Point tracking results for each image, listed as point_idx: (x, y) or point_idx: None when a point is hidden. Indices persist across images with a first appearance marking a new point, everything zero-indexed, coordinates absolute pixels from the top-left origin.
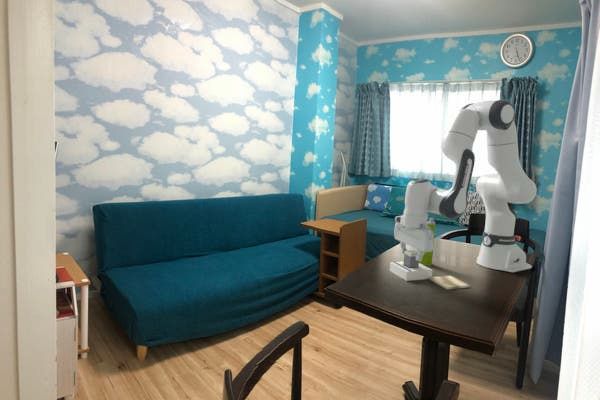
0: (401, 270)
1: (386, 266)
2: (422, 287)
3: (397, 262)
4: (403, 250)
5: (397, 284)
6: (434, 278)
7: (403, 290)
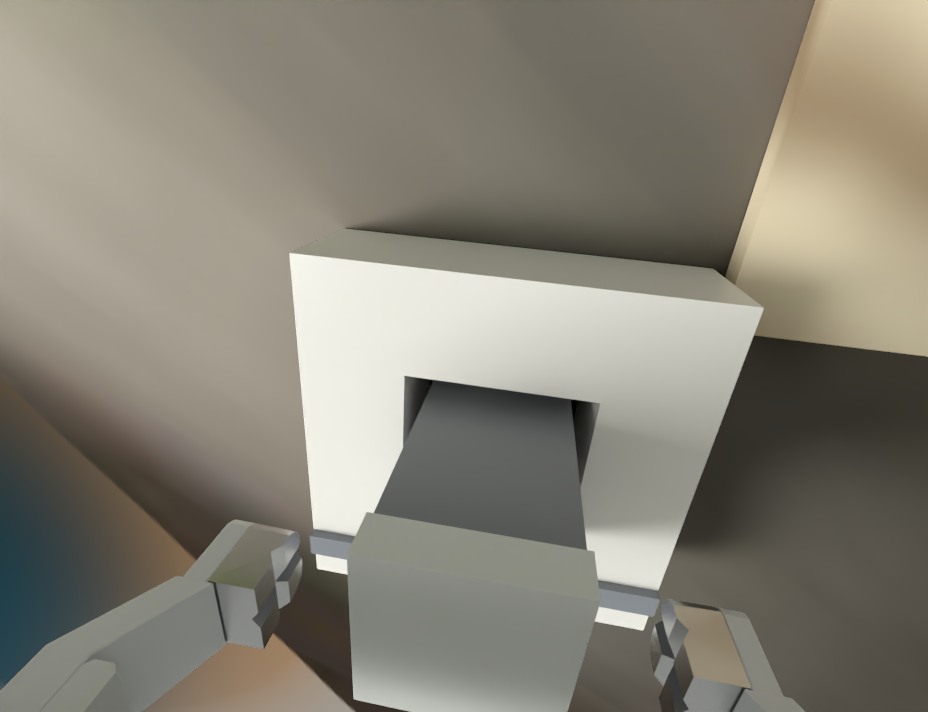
0: None
1: (235, 447)
2: (833, 536)
3: (335, 514)
4: (271, 631)
5: None
6: (792, 291)
7: None
